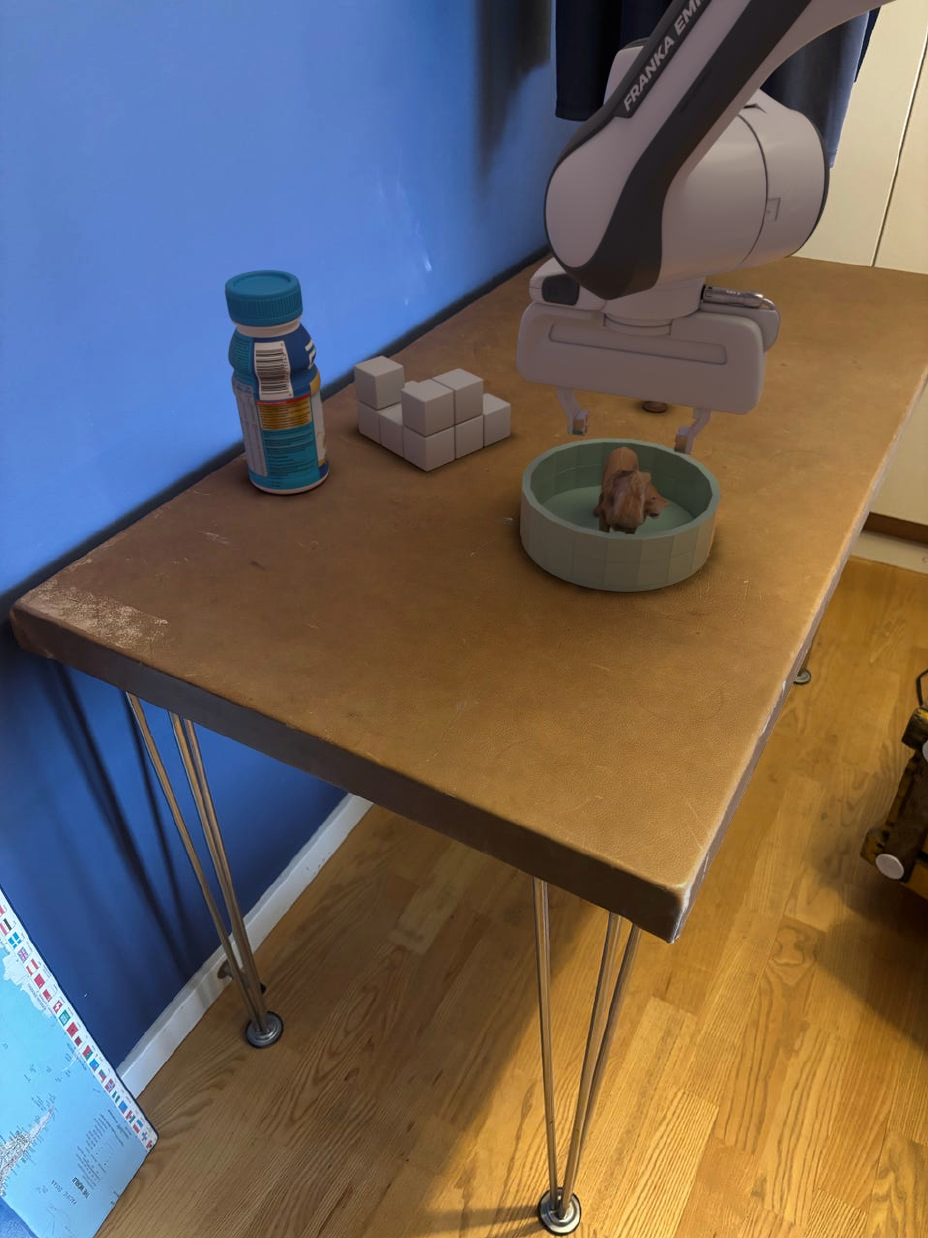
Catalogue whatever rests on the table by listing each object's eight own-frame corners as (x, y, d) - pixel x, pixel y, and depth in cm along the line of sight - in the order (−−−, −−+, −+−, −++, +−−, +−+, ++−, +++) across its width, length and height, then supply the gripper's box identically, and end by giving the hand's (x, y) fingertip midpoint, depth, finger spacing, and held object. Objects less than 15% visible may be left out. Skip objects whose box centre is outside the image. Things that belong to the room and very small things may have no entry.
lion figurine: (661, 574, 79) (675, 484, 74) (600, 576, 79) (610, 486, 73) (630, 488, 91) (640, 404, 85) (577, 489, 90) (583, 405, 85)
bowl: (726, 508, 89) (736, 457, 85) (687, 611, 76) (697, 557, 73) (555, 473, 94) (557, 425, 91) (492, 565, 82) (492, 512, 78)
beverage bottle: (231, 483, 93) (193, 286, 81) (284, 449, 99) (256, 260, 86) (296, 505, 90) (267, 303, 77) (347, 468, 95) (328, 274, 83)
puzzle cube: (510, 436, 101) (512, 367, 96) (426, 472, 95) (424, 401, 90) (441, 400, 108) (439, 335, 103) (358, 432, 102) (352, 364, 97)
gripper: (791, 281, 69) (758, 445, 78) (537, 254, 76) (532, 408, 84) (779, 308, 65) (745, 480, 73) (510, 277, 71) (508, 437, 80)
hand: (629, 441), depth 79 cm, fingers open, 8 cm apart
